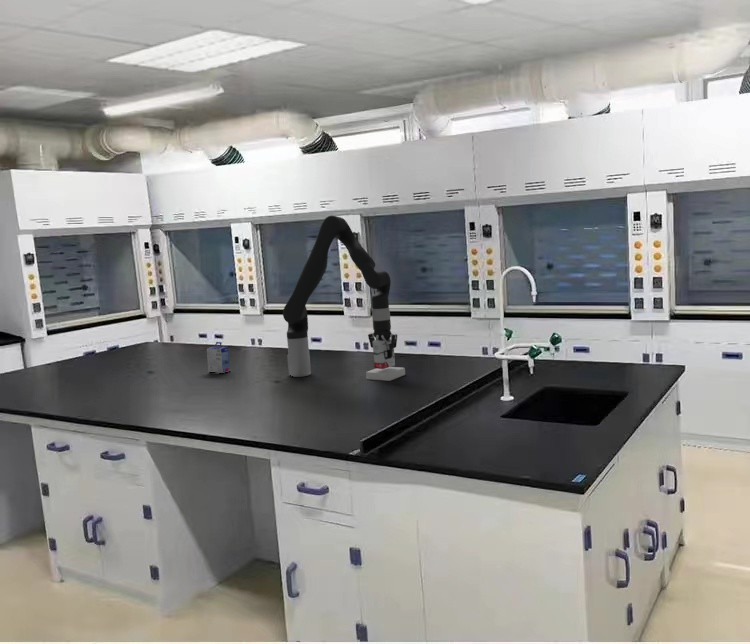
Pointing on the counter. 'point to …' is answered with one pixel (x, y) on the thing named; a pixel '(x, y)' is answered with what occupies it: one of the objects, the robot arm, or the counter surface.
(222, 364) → the ink cartridge box
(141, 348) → the counter surface
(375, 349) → the ink box
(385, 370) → the stand
